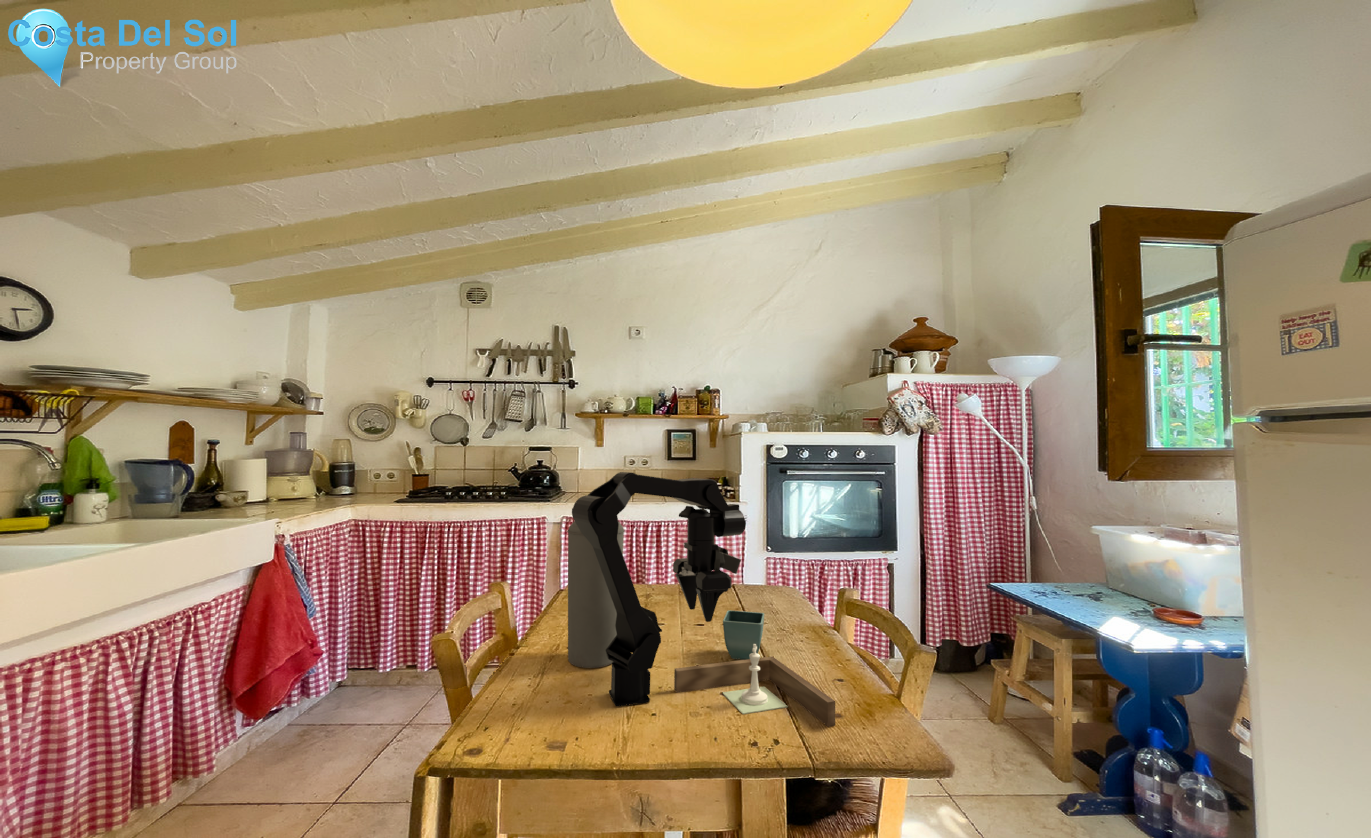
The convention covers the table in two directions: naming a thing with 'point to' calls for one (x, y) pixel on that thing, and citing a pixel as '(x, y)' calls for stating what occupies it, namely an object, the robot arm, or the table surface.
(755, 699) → the chess piece
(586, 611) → the canister
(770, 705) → the pad
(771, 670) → the corner wall
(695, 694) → the table surface
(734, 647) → the flower pot
